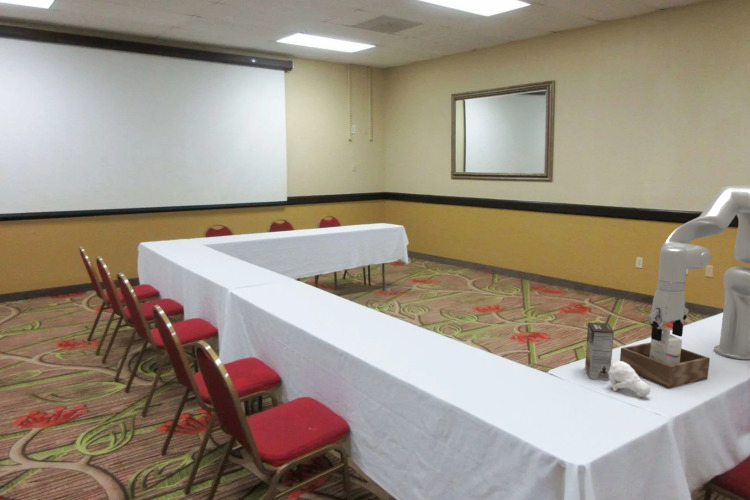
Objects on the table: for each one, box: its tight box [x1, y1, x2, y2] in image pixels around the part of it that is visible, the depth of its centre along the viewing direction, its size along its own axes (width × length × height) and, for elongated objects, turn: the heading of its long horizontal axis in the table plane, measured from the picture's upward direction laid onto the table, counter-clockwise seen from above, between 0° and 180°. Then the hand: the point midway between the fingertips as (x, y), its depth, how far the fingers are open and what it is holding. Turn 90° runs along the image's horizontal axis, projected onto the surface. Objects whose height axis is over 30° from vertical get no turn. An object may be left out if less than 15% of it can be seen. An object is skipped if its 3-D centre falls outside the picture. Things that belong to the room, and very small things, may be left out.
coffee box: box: [584, 322, 615, 381], centre depth 171 cm, size 9×6×16 cm
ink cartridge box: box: [649, 326, 683, 365], centre depth 172 cm, size 9×5×15 cm, turn 9°
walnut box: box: [619, 341, 711, 390], centre depth 173 cm, size 18×18×7 cm
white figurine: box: [608, 360, 651, 399], centre depth 159 cm, size 6×8×12 cm
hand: (666, 337), depth 172 cm, fingers open, 9 cm apart
